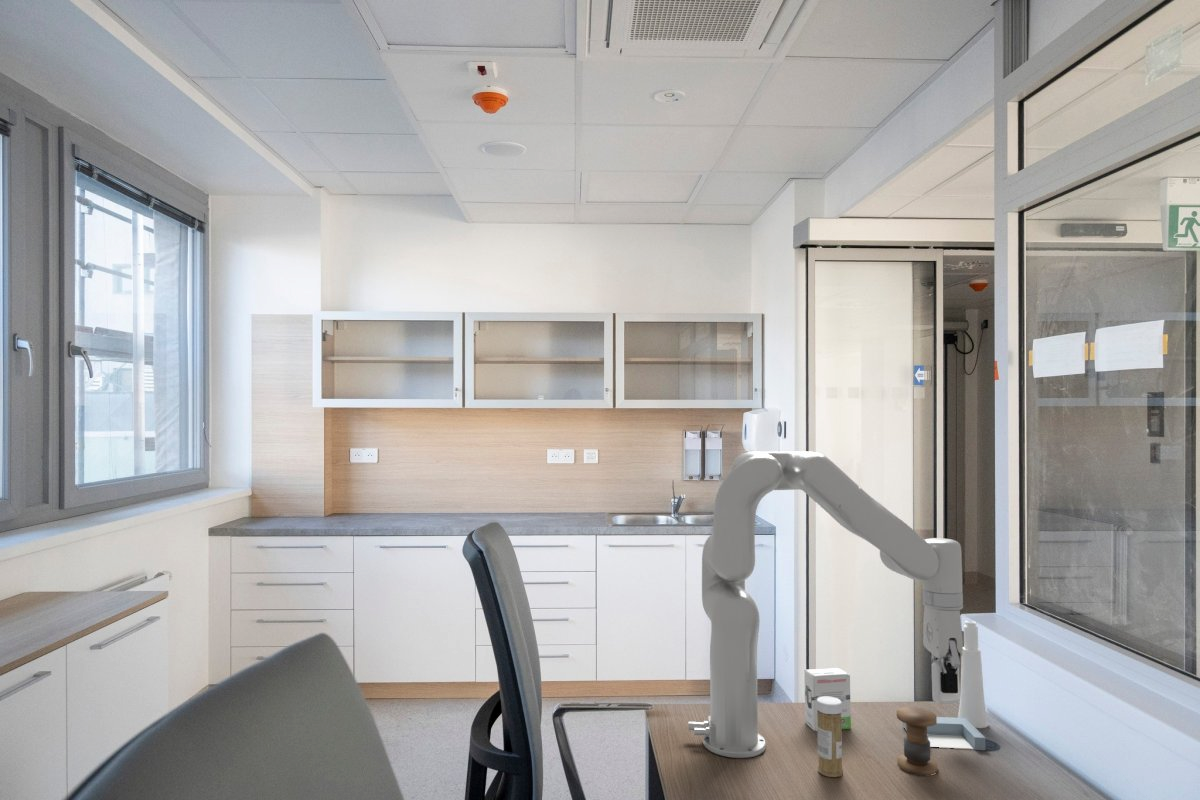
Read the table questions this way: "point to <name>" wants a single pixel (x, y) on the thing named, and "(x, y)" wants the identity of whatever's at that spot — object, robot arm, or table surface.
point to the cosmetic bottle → (972, 680)
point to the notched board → (954, 734)
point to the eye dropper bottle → (936, 685)
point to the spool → (917, 741)
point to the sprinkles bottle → (829, 736)
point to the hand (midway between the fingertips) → (944, 687)
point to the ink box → (826, 693)
